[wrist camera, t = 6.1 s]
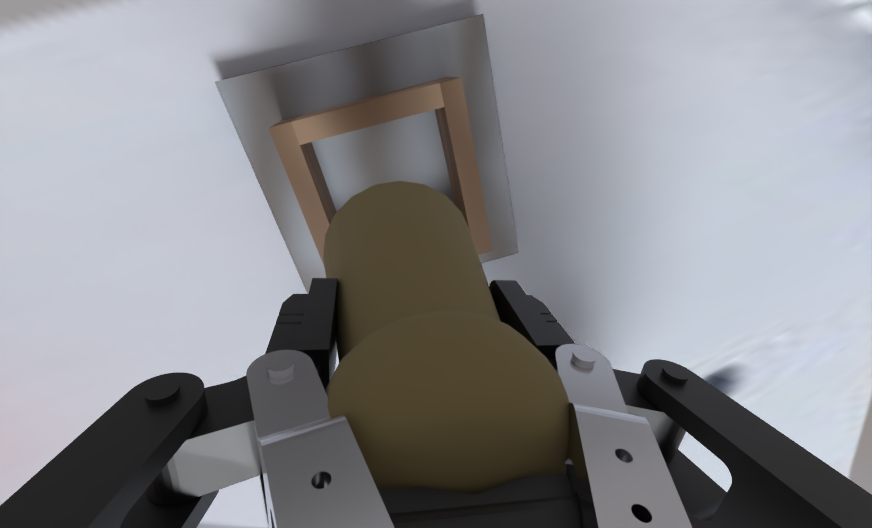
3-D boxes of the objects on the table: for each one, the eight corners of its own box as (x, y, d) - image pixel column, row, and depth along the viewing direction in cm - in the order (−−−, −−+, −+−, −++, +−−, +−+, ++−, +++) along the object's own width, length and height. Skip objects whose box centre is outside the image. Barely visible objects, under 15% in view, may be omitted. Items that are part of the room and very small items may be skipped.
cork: (442, 329, 18) (542, 622, 9) (307, 301, 17) (236, 632, 7) (494, 206, 16) (705, 409, 6) (345, 159, 14) (324, 339, 5)
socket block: (476, 17, 25) (504, 3, 20) (511, 245, 32) (538, 276, 27) (222, 81, 24) (187, 83, 19) (317, 300, 32) (308, 342, 27)
